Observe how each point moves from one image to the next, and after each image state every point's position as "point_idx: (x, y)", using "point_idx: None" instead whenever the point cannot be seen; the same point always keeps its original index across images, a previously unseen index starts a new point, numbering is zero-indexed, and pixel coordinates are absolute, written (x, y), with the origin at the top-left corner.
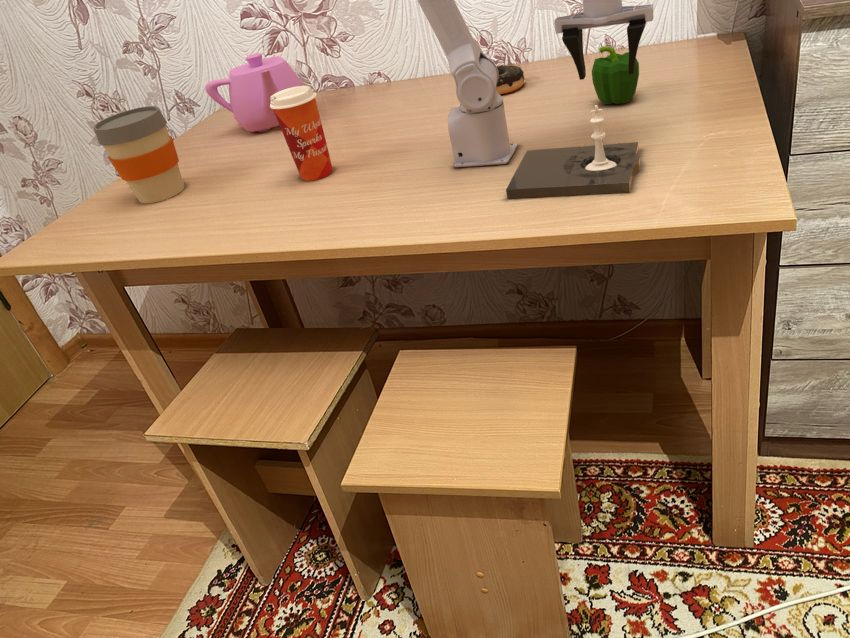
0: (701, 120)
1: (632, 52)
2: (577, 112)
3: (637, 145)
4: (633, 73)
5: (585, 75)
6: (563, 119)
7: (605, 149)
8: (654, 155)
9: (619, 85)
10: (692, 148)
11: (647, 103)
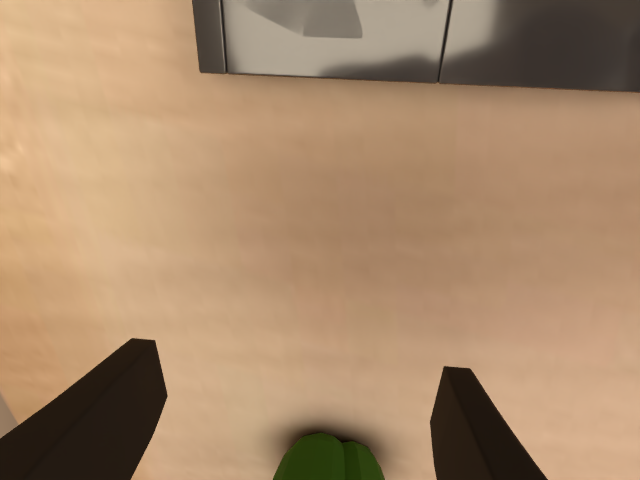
0: (72, 276)
1: (16, 448)
2: None
3: (195, 28)
4: (128, 342)
5: (431, 417)
6: None
7: (328, 9)
8: (143, 5)
9: (311, 477)
10: (22, 47)
11: (249, 419)
